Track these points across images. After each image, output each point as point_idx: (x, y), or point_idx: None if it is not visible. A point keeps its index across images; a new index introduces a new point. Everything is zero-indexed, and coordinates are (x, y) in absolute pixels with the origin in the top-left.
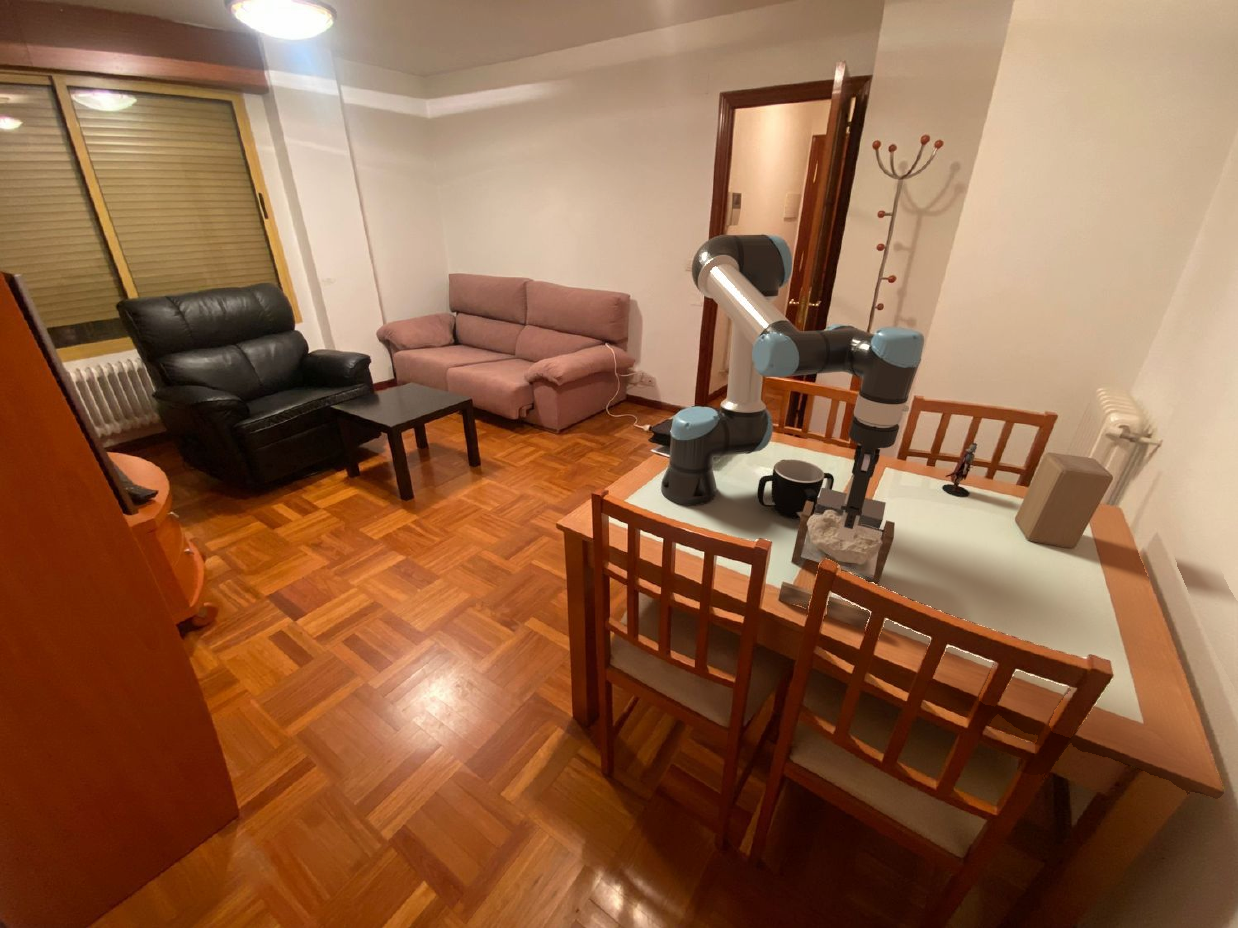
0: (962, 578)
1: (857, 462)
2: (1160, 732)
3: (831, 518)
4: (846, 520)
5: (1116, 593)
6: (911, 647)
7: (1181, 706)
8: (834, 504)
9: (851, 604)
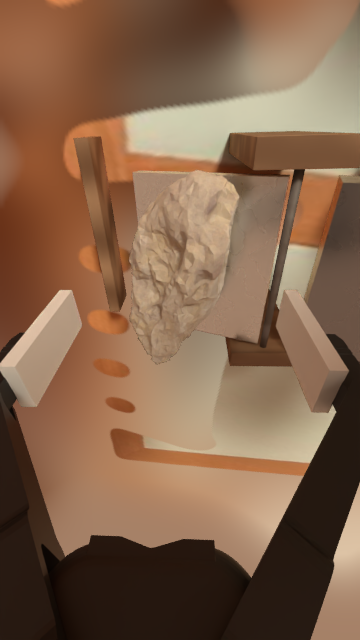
0: (287, 379)
1: (296, 491)
2: (141, 452)
3: (184, 259)
4: (1, 353)
5: (306, 465)
6: (119, 332)
7: (176, 463)
8: (343, 241)
9: (110, 276)
